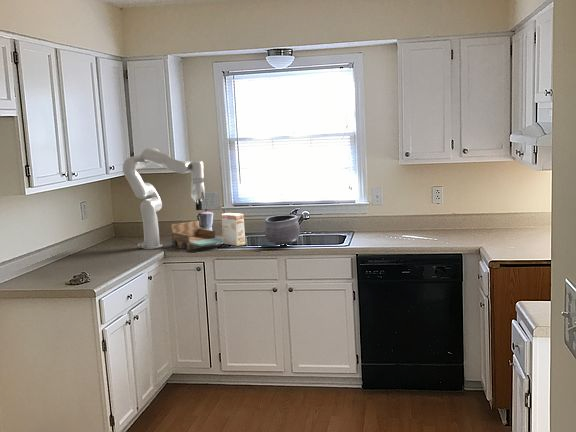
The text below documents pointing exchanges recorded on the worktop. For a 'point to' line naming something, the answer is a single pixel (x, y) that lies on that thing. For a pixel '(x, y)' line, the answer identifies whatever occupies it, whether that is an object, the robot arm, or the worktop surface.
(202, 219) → the moka pot
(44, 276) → the worktop surface
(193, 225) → the shelf
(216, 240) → the tailgate
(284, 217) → the tea bowl
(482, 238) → the worktop surface
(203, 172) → the robot arm
